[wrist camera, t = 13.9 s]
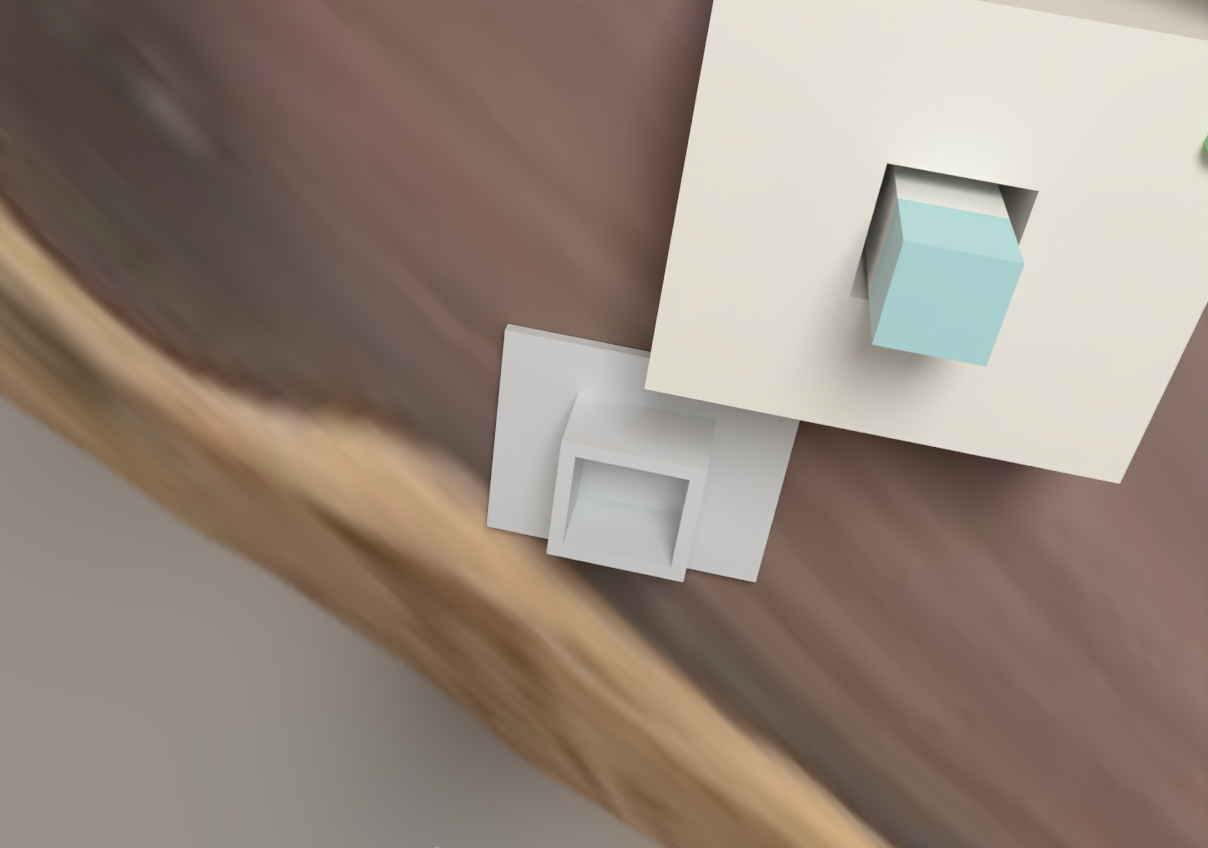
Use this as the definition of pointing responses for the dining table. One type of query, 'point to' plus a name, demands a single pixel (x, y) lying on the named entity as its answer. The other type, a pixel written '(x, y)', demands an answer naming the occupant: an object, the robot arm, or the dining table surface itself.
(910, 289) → the plug
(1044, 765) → the dining table surface
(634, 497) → the holster
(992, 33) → the port
